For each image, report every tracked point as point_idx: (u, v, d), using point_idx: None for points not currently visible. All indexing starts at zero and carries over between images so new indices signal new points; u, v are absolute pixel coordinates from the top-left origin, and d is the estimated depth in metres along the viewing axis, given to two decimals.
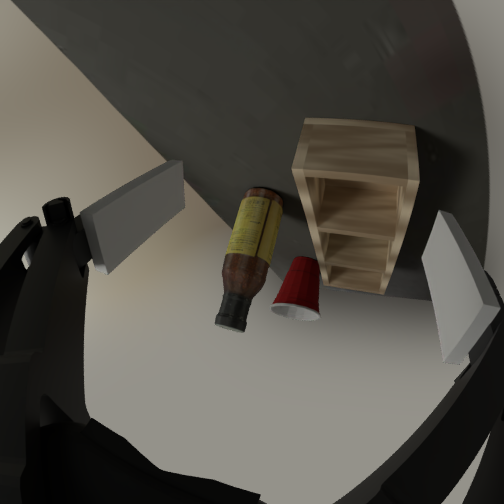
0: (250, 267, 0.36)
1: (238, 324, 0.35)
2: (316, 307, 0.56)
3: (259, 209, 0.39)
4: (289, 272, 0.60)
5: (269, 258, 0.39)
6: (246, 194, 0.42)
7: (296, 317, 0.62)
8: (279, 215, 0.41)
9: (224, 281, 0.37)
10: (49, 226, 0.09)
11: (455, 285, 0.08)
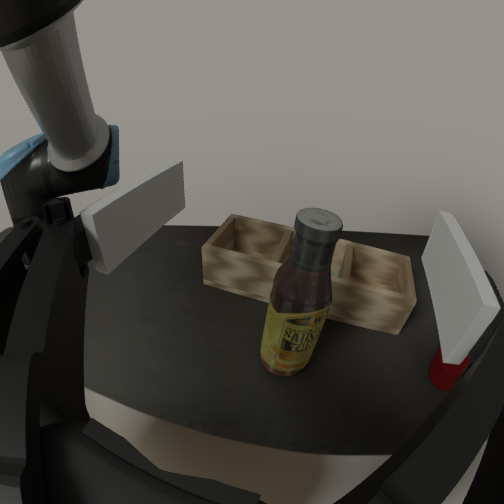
0: None
1: None
2: None
3: None
4: (444, 371, 0.28)
5: None
6: (262, 360, 0.33)
7: None
8: None
9: (283, 275, 0.26)
10: (49, 226, 0.09)
11: (455, 285, 0.08)
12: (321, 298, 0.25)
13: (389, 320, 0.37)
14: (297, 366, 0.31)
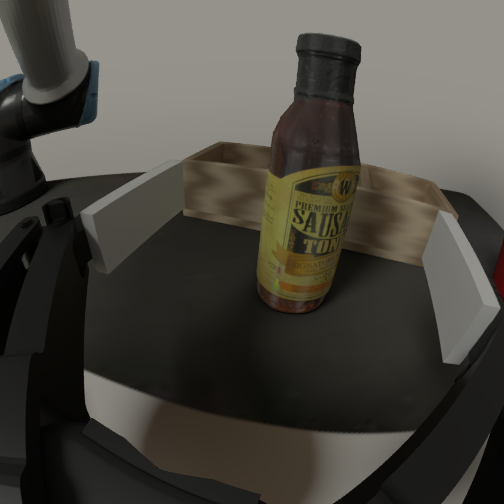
0: None
1: None
2: None
3: None
4: None
5: None
6: (260, 289, 0.23)
7: None
8: None
9: (286, 117, 0.16)
10: (49, 226, 0.09)
11: (455, 285, 0.08)
12: (347, 146, 0.15)
13: None
14: (314, 291, 0.21)
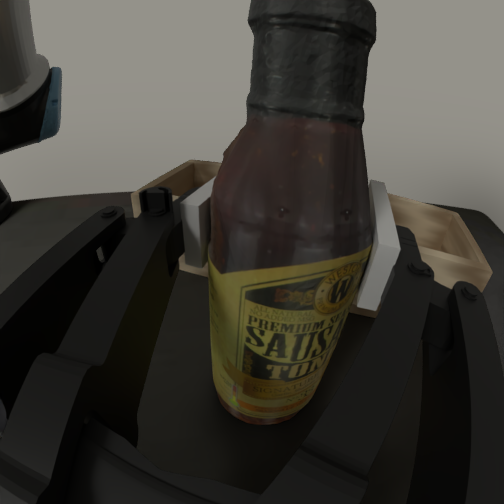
0: None
1: None
2: None
3: None
4: None
5: None
6: (218, 392, 0.15)
7: None
8: None
9: (229, 155, 0.09)
10: (143, 214, 0.09)
11: None
12: (349, 216, 0.08)
13: None
14: (289, 409, 0.13)
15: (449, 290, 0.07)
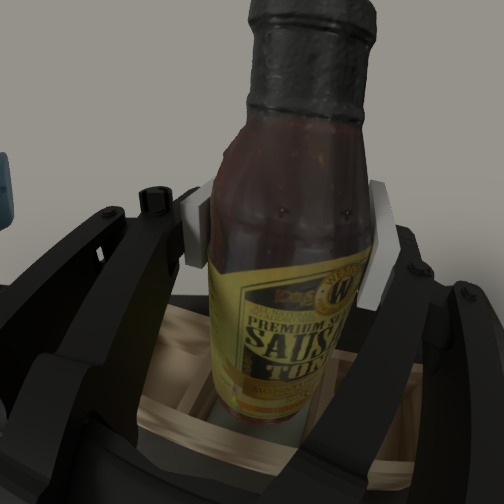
0: None
1: None
2: None
3: None
4: None
5: None
6: (217, 392, 0.15)
7: None
8: None
9: (229, 155, 0.09)
10: (143, 214, 0.09)
11: None
12: (349, 217, 0.08)
13: (387, 485, 0.16)
14: (289, 409, 0.13)
15: (449, 290, 0.07)
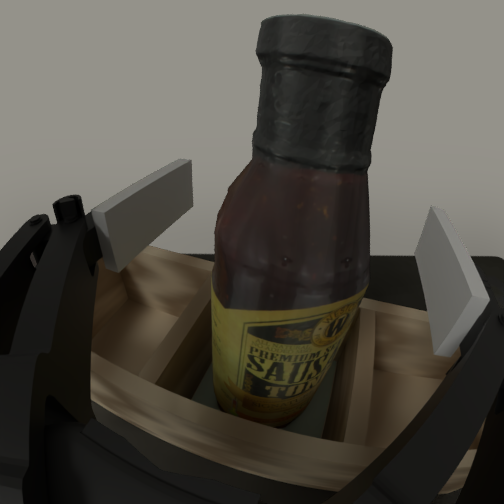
0: None
1: None
2: None
3: None
4: None
5: None
6: (218, 401, 0.16)
7: None
8: None
9: (234, 196, 0.09)
10: (59, 223, 0.09)
11: (445, 278, 0.09)
12: (349, 264, 0.08)
13: None
14: (285, 420, 0.14)
15: None
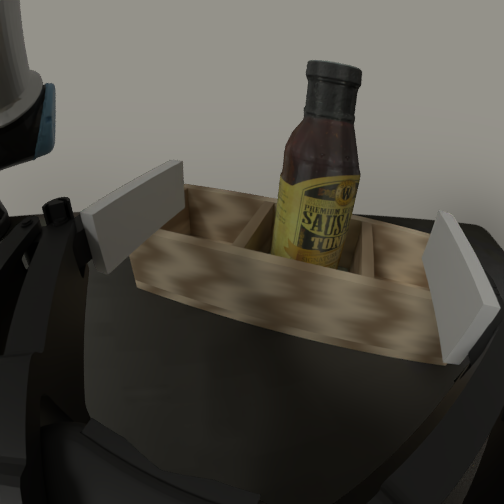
0: None
1: None
2: None
3: None
4: None
5: None
6: None
7: None
8: None
9: (297, 133, 0.19)
10: (49, 226, 0.09)
11: (455, 285, 0.08)
12: (348, 159, 0.19)
13: (437, 344, 0.19)
14: None
15: None
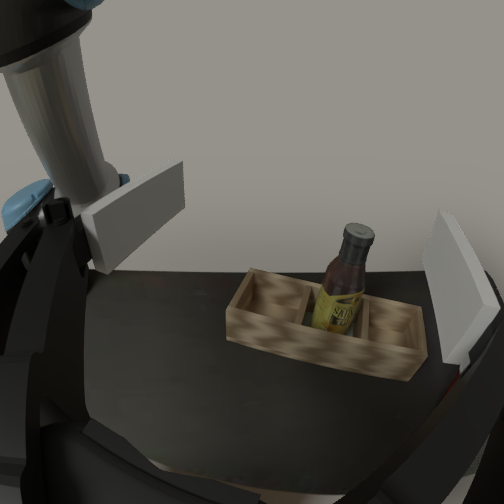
0: None
1: None
2: None
3: None
4: None
5: None
6: None
7: None
8: None
9: (334, 269, 0.37)
10: (49, 226, 0.09)
11: (455, 285, 0.08)
12: (360, 284, 0.36)
13: (401, 371, 0.37)
14: None
15: None
